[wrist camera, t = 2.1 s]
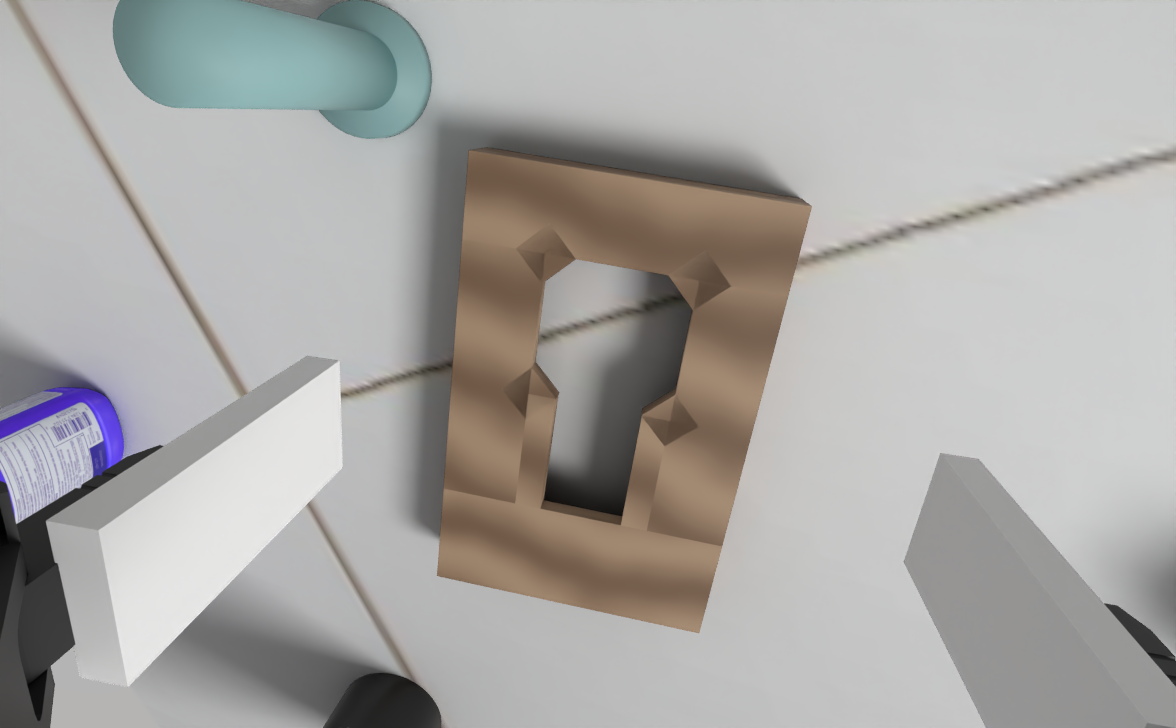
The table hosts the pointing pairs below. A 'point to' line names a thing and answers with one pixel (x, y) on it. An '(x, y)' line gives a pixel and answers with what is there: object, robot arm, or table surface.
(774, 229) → the keyhole board
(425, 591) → the table surface
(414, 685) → the water bottle
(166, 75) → the peg
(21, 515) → the bottle
